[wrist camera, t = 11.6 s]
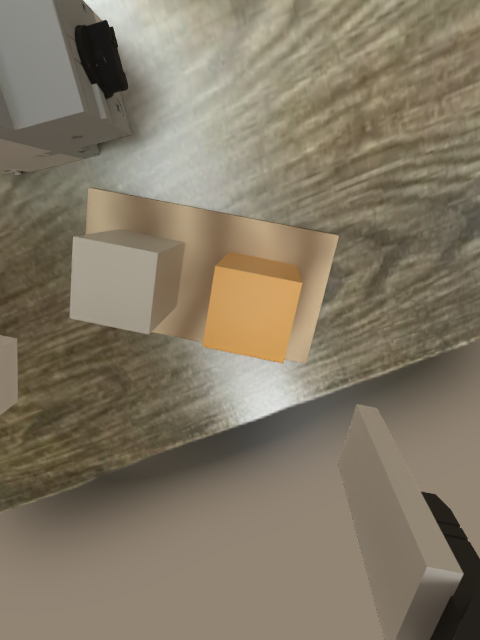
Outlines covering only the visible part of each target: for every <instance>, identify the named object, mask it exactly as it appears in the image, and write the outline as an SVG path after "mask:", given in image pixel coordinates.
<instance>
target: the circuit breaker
mask: <svg viewBox="0 0 480 640" xmlns="http://www.w3.org/2000/svg"><path fill="white" fill-rule="evenodd" d="M117 47H118V44H117V40H116V37H115V33H114V29H113V27H109V25H108V22H107V20H104V21H102V20H101V19H100V18H99V17H98V16H97V15H96V14H95V13H94V12H93V11H92V10H91V8H90V7H89V6H88V5H87V4H86V3H85V2H84V1H83V0H0V174H9V173H13V172H14V173H15V175H22V172H21V171H26V172H34V171H38V170H42V169H45V168H49V167H53V166H57V165H61V164H65V163H69V162H73V161H77V160H81V159H85V158H89V157H92V156H96V155H100V152H99V148H98V145H97V144H98V143H101V142H105V141H109V140H113V139H117V138H121V137H124V136H128V135H131V130H130V126H129V122H128V119H127V115H126V111H125V107H124V103H123V100H122V96H121V92H120V91H124V90H127V89H128V83H127V79H126V76H125V73H124V72H123V69H122V65H121V61H120V57H119V53H118V49H117Z"/></svg>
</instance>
